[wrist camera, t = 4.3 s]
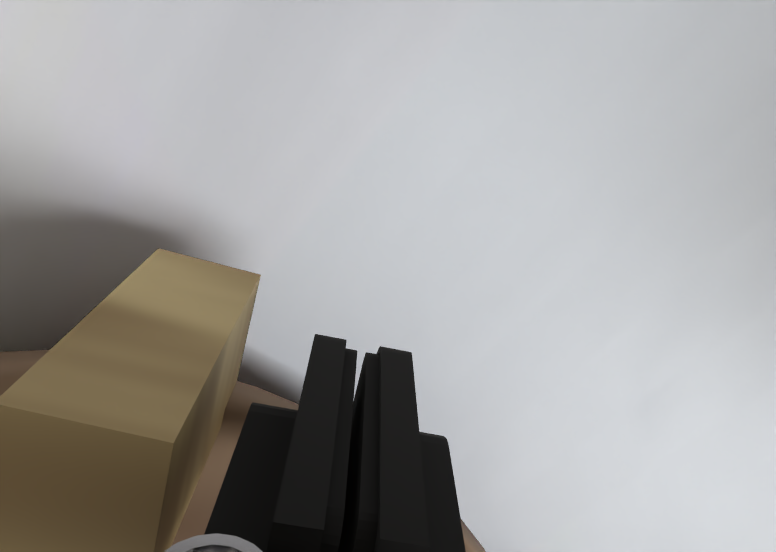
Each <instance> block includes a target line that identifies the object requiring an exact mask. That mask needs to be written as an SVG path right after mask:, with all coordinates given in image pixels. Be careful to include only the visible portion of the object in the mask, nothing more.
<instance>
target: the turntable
mask: <svg viewBox="0 0 776 552" xmlns="http://www.w3.org/2000/svg"><path fill="white" fill-rule="evenodd" d="M259 280H260V275H259V274H255V273H252V272H248V271H244V270H240V269H236V268H232V267H228V266H225V265H221V264H217V263H213V262H209V261H205V260H202V259H198V258H194V257H190V256H186V255H182V254H179V253H175V252H171V251H167V250H163V249H159V248H158V249H157V250H156V251H155V252H154V253H153V254H152V255H151V256H150V257H149V258H147V259H146V260H145V261H144V262H143V263H142V264H141V265H140V266H139V267H138V268H137V269H136V270H135V271H134V272H133V273H131V274H130V275H129V276H128V277H127V278H126V279H125V280H124V281H123V282H122V283H121V284H120V285H119V286H118V287H116V288H115V289H114V290H113V291H112V292H111V293H110V294H109V295H108V296H107V297H106V298H105V299H104V300H103V301H102V302H100V303H99V304H98V305H97V306H96V307H95V308H94V309H93V310H92V311H91V312H90V313H89V314H88V315H87V316H86V317H84V318H83V319H82V320H81V321H80V322H79V323H78V324H77V325H76V326H75V327H74V328H73V329H72V330H71V331H69V332H68V333H67V334H66V335H65V336H64V337H63V338H62V339H61V340H60V341H59V342H58V343H57V344H56V345H55V346H53V347H52V348H51V349H50V350H31V351H6V352H0V552H164V551H165V550H167V549H168V548H170V547H171V546H173V545H174V544H176V543H177V542H180V541H183V540H186V539H188V538H191V537H194V536H197V535H204V533H205V530H206V528H207V525H208V522H209V519H210V517H211V514H212V511H213V508H214V505H215V503H216V500H217V497H218V494H219V491H220V489H221V486H222V483H223V480H224V477H225V475H226V472H227V469H228V466H229V463H230V461H231V458H232V455H233V452H234V449H235V447H236V444H237V441H238V438H239V436H240V433H241V430H242V427H243V424H244V422H245V419H246V416H247V413H248V410H249V408H250V406H251V404H252V402H254V403H260V404H266V405H271V406H277V407H282V408H288V409H294V410H298V407H299V404H297V403H294V402H292V401H290V400H287V399H285V398H282V397H280V396H278V395H275V394H273V393H270V392H268V391H266V390H263V389H261V388H258V387H256V386H252V385H249V384H246V383H242V382H239V381H237V379H238V374H239V370H240V365H241V361H242V356H243V352H244V347H245V343H246V338H247V334H248V329H249V325H250V320H251V316H252V311H253V307H254V302H255V298H256V293H257V289H258V284H259ZM460 519H461V518H460ZM461 525H462V532H463V538H464V544H465V550H466V552H485V550H484V548H483V547H482V545H481V544H480V543H479V542H478V540H477V539H476V538H475V536H474V535H473V534H472V533H471V531H470V530H469V529H468V527H467V526H466V525H465V524H464V522H463V521H462V520H461Z"/></svg>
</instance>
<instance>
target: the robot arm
mask: <svg viewBox="0 0 776 552" xmlns="http://www.w3.org/2000/svg"><path fill="white" fill-rule="evenodd" d="M356 360H357V351H356V350H351V349H346V340H344V339H339V338H333V337H328V336H323V335H318V334H315V337H314V341H313V345H312V350H311V354H310V359H309V363H308V367H307V372H306V376H305V381H304V385H303V390H302V394H301V398H300V403H299V407H298V410H294V409H288V408H282V407H277V406H271V405H266V404H260V403H254V402H252V404H251V406H250V408H249V410H248V413H247V416H246V419H245V422H244V424H243V427H242V430H241V433H240V436H239V438H238V441H237V444H236V447H235V449H234V452H233V455H232V458H231V461H230V463H229V466H228V469H227V472H226V475H225V477H224V480H223V483H222V486H221V489H220V491H219V494H218V497H217V500H216V503H215V505H214V508H213V511H212V514H211V517H210V519H209V522H208V525H207V528H206V530H205V533H204V535H197V536H194V537H191V538H188V539H186V540H183V541H180V542H177V543H176V544H174V545H173V546H171V547H170V548H168V549H167V550H165V551H164V552H466V550H465V544H464V538H463V532H462V525H461V519H460V513H459V507H458V501H457V495H456V488H455V482H454V476H453V470H452V464H451V458H450V451H449V445H448V442H447V439H446V438H445V437H444V436H440V435H434V434H428V433H423V432H419V425H418V414H417V404H416V393H415V382H414V372H413V361H412V353H411V352H407V351H401V350H396V349H391V348H386V347H381V346H380V347H379V349H378V352H377V354H372V353H367V352H366V354H365V357H364V361H363V365H362V369H361V373H360V377H359V381H358V386H357V390H356V394H355V398H354V385H355V373H356ZM353 398H354V402H353Z"/></svg>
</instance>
